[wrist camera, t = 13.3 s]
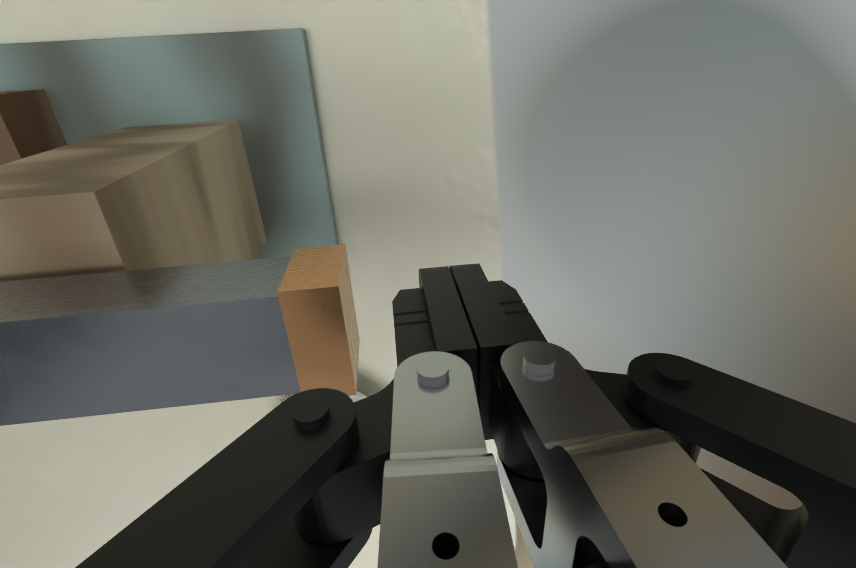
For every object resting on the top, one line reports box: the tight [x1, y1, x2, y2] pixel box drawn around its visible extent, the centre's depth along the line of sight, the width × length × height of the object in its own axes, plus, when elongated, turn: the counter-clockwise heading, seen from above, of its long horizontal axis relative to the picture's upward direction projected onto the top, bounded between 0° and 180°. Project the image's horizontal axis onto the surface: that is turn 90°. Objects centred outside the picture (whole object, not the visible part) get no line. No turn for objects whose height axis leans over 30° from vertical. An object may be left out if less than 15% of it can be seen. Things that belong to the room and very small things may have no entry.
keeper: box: [0, 244, 359, 426], centre depth 10 cm, size 11×3×2 cm, turn 93°
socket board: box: [0, 28, 338, 282], centre depth 17 cm, size 22×13×13 cm, turn 93°
